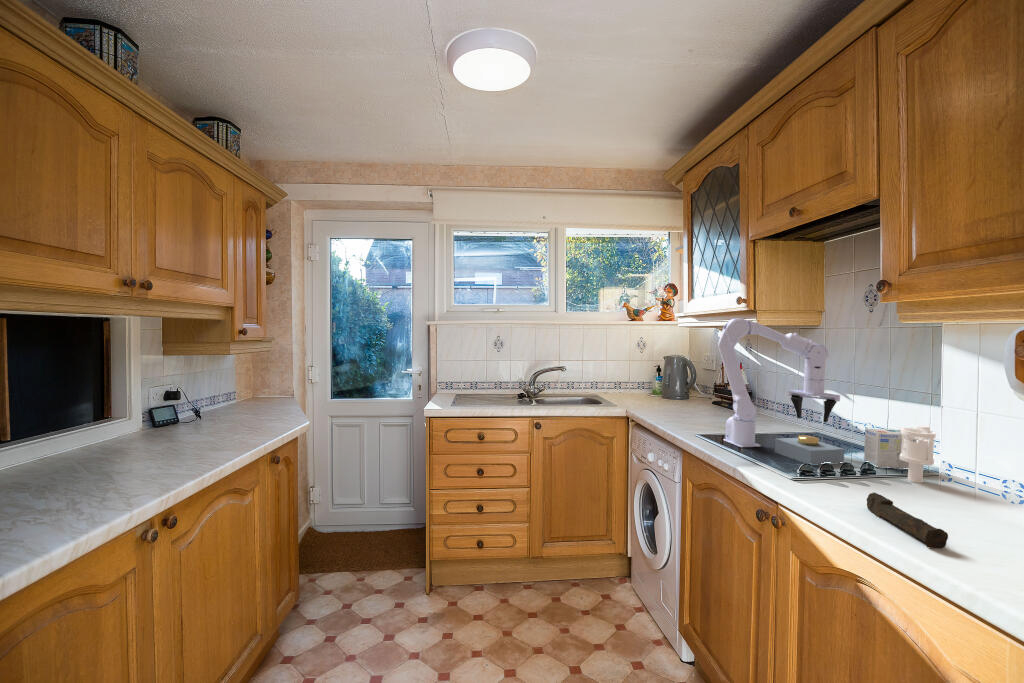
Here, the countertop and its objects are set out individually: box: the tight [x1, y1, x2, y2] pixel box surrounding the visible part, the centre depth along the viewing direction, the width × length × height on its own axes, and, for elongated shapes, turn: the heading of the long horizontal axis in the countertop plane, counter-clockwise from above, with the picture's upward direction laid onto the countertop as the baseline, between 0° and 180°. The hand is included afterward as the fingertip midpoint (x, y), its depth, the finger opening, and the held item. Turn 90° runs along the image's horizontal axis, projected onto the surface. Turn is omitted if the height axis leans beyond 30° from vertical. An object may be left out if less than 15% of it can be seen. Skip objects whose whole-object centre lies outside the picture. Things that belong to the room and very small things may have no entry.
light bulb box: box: [863, 428, 918, 468], centre depth 138 cm, size 11×7×11 cm, turn 84°
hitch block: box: [774, 437, 845, 465], centre depth 145 cm, size 14×12×4 cm
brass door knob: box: [797, 434, 820, 446], centre depth 145 cm, size 6×6×6 cm
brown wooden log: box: [866, 492, 949, 549], centre depth 97 cm, size 19×4×5 cm, turn 174°
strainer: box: [899, 425, 937, 484], centre depth 125 cm, size 7×7×15 cm
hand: (812, 419), depth 154 cm, fingers open, 7 cm apart
